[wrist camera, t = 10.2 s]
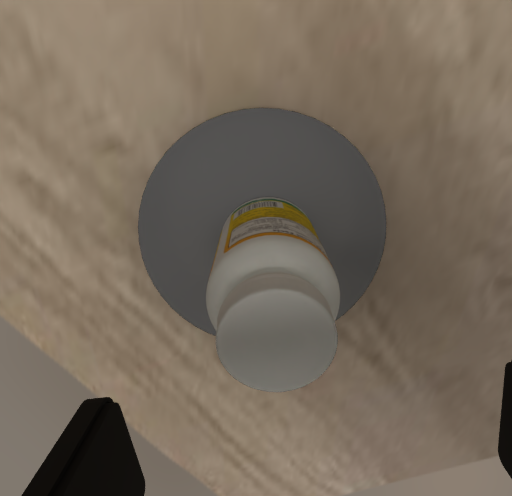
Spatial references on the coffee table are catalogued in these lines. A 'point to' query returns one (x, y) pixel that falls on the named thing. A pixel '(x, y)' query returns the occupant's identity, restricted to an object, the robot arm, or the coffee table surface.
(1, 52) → the coffee table surface
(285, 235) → the supplement bottle
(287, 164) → the plate
